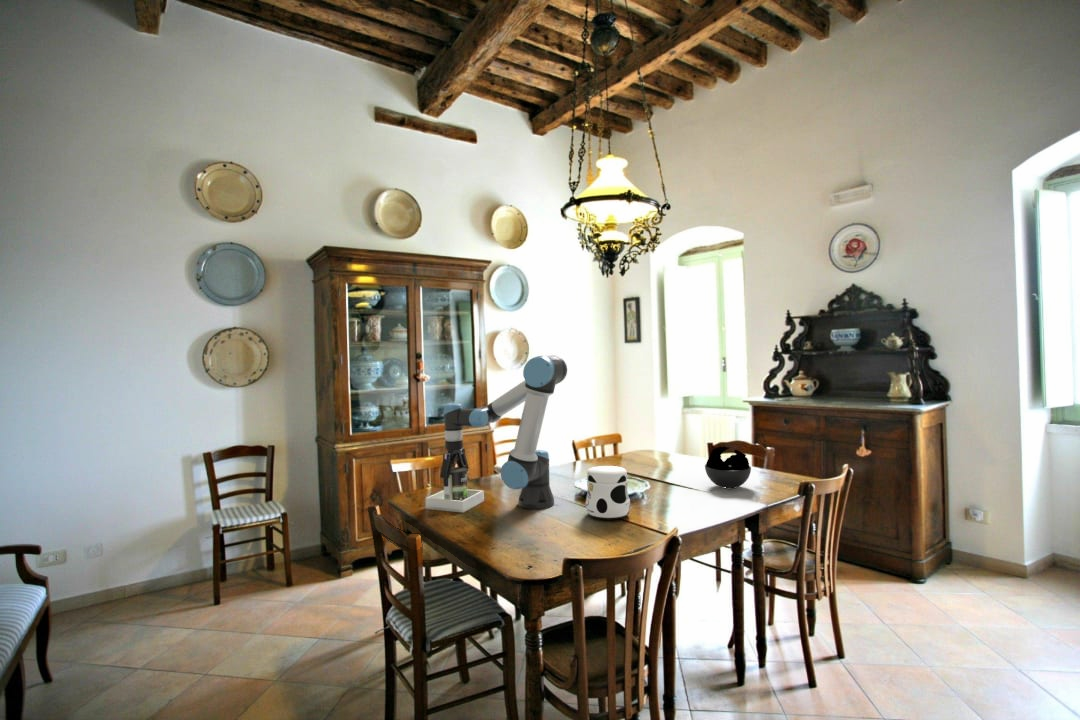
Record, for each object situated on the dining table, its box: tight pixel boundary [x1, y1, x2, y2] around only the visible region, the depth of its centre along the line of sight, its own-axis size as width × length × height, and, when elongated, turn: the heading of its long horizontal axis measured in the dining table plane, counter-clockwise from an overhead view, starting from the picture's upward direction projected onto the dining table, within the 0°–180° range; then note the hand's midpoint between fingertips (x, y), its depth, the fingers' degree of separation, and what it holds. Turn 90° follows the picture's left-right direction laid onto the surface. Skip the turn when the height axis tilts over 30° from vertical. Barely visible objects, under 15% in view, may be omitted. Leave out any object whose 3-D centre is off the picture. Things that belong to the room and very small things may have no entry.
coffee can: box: [444, 466, 468, 501], centre depth 231 cm, size 10×10×14 cm
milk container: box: [585, 465, 631, 520], centre depth 210 cm, size 17×17×18 cm
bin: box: [425, 488, 485, 514], centre depth 231 cm, size 18×18×4 cm
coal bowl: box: [704, 445, 752, 489], centre depth 247 cm, size 20×20×19 cm
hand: (455, 490), depth 231 cm, fingers open, 12 cm apart
